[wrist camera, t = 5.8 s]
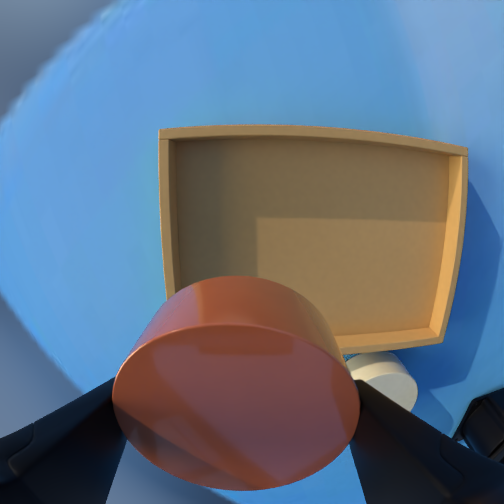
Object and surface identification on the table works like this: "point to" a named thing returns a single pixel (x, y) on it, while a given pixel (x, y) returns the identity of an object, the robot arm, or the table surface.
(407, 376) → the white short cylinder
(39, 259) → the table surface
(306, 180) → the serving tray
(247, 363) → the reddish-brown short cylinder
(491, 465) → the robot arm
